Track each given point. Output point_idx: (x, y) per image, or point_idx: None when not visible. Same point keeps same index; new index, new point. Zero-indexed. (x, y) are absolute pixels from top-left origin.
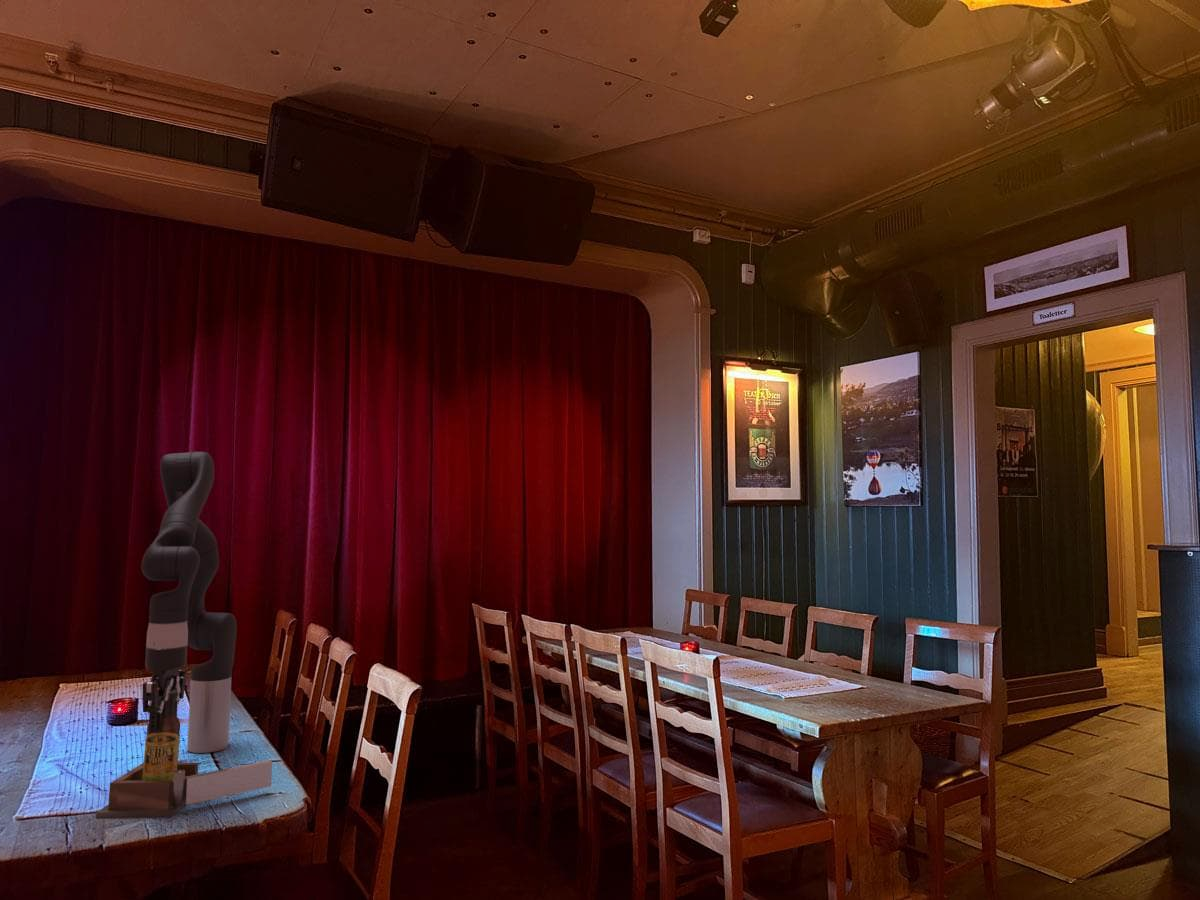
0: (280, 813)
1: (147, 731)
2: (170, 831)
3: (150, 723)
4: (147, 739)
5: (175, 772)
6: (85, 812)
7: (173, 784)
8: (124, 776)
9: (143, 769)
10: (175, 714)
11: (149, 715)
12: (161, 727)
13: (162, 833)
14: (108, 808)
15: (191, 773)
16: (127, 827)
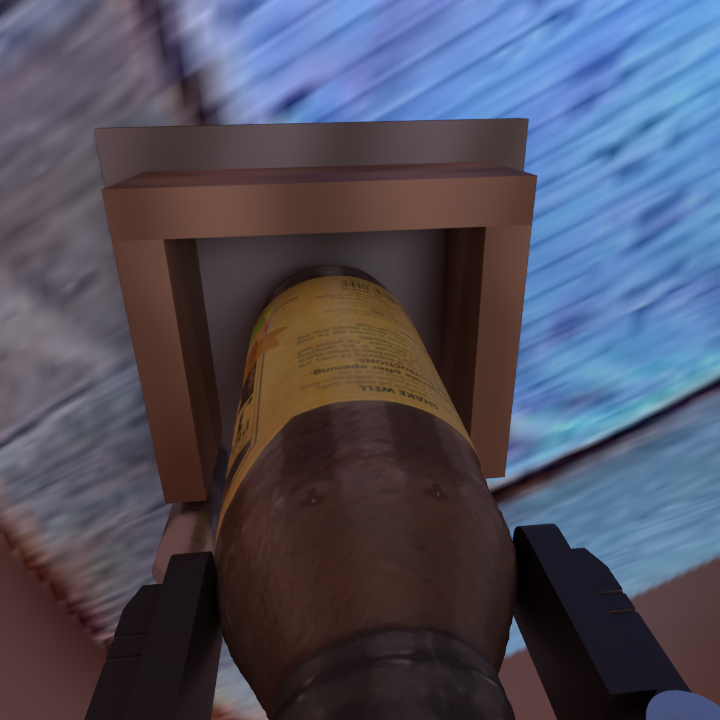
0: (250, 712)
1: (267, 479)
2: (33, 508)
3: (109, 662)
4: (243, 456)
5: (159, 564)
6: (168, 16)
7: (171, 514)
8: (244, 209)
9: (274, 325)
10: (539, 675)
11: (125, 717)
12: (219, 655)
13: (8, 493)
14: (143, 172)
15: None
16: (29, 341)
